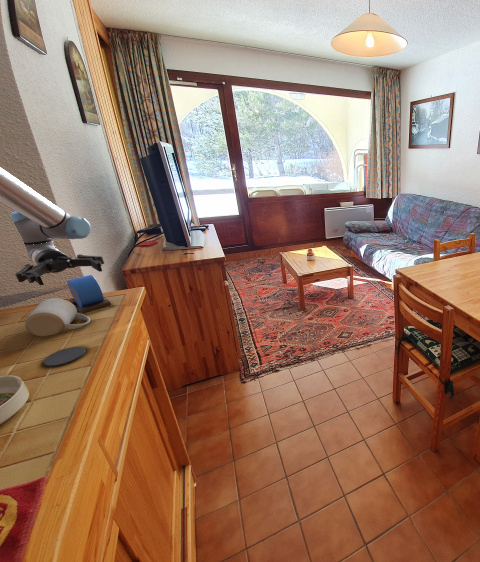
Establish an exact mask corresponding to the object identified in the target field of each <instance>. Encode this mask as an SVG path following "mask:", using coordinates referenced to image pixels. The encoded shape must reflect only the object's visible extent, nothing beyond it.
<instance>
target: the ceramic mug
mask: <svg viewBox="0 0 480 562" xmlns="http://www.w3.org/2000/svg"><path fill="white" fill-rule="evenodd" d="M75 319H78V320H83V321H86V322H84V323H79V324H78V323H77V324H76V323H75V324H74V323H73V324H72V322H73V321H74V320H75ZM90 322H91V319H90V317H89V316H88V315H86V314H84V313H81V312H78V309H76V307H75V306H74V305H73V304H72V303H71V302H70V301H69V300H66V299H64V298H59V297H53V298H52V297H51V298H47V299H44V300H42V301H40V302H39V303H38V304H37V306H35V308H34V309H33V310H32V311H31V312H30V314H29V315H28V316H27V318H26V320H25V328H26V330H27V331H28V332H29V333H30V334H32V335H33V336H36V337H47V336H53V335H57V334H60V333H63V331H65V330H75V329H80V328H83V327H84V326H86V325H88V324H89V323H90Z"/></svg>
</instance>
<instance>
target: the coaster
mask: <svg viewBox="0 0 480 562" xmlns="http://www.w3.org/2000/svg"><path fill="white" fill-rule="evenodd" d="M85 354H86V348H84V347H82V346H73V347H67V348H63V349H60V350H58V351H56V352H54V353H51V354H49V355H48V356H46V357H45V358H44V360H43V365H44V366H45V367H48V368H56V367H62V366H65V365H68V364H71V363H73V362H75V361H78V360H79V359H81V358H82V357H83V356H84V355H85Z"/></svg>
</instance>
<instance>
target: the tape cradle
mask: <svg viewBox="0 0 480 562" xmlns="http://www.w3.org/2000/svg"><path fill="white" fill-rule="evenodd" d="M68 301H69V302H71V303H72V304H73V305H74V306H75V307H76V309H77V311H79V313H80V314H86V313H89V312H93V311H95V310H98V309H102V308H105V307H109V306H111V305H112V303H111V301H110V300H108V299H104V300H103V301H100V302H97V303H94V304H90V305H87V306H83V307H79V306H78V304H77V303H76V301H75V300H74V298H73V299H68Z"/></svg>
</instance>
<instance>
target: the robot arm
mask: <svg viewBox="0 0 480 562" xmlns="http://www.w3.org/2000/svg"><path fill="white" fill-rule="evenodd" d="M0 202H1V203H2V204H4V205H6V206H8V207H9V208H11V209H13V211H14V210H16V211H14V212H12V211H11V212H12V213H11V215H12V218H13V220H14V224H15V226H16V228H17V230H18V232H19V233H20V235H21V236H22V239H23V241H24V244H25V247H26V249H27V251H28V256H29V258H30V260H31V261H32V262H31V261H30V260H29V261H30V262H31V263H33V264H30V263H26V264H24V267H22V269H20V270H19V271H17V272H16V273H15V274H14V275H15V277H16V279H17V282H19V283H23V282H25V281H26V280H27V281H28V283H29V284H33V283H35V282H36V283H37V284H38V285H39V286H40V287H41V286H44V285H45V283H44V281H43V279H42V277H41V276H43V275H46V274H57V273H61V272H64V271H65V270H67V269H75V268H78V267H91V268H93V269H94V270H95V271H97V272H103V269H102V265H105V261H104V258H103V256H101V255H87V254H86V255H85V254H80V253H79V254H77V255H76V257H74V256H68V255H67V254H65V253H64V252H63V251H61V250H59V249H58V248H57V247H56V245H55V246H54V244H55V243H54V244H53V242H54V240H53V241H52V239H63V240H83V239H86V238H87V237H89V235H90V234H91V231H92V227H91V223H90V222H89V221H88V220H87V219H86V218H85V217H81V216H77V215H70V214H69V213H68V212H66V211H64V210H63V209H62V208H60V207H58V206H57V205H56V204H54V203H53V202H51V201H50V200H48V199H47V198H46V197H44V196H43V195H41V194H40V193H38V192H37V191H35V190H34V189H33V188H31V187H30V186H28V185H27V184H26V183H24V182H23V181H22V180H20V179H18V178H17V177H16V176H14V175H13V174H11V173H10V172H8V171H7V170H5V169H4V168H2V167H1V166H0ZM46 242H47V243H46ZM41 243H42V244H41ZM33 244H34V245H33ZM55 247H56V248H55Z"/></svg>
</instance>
